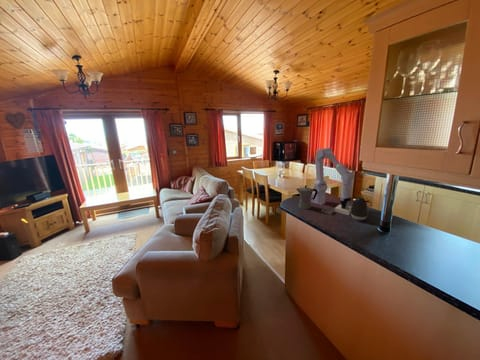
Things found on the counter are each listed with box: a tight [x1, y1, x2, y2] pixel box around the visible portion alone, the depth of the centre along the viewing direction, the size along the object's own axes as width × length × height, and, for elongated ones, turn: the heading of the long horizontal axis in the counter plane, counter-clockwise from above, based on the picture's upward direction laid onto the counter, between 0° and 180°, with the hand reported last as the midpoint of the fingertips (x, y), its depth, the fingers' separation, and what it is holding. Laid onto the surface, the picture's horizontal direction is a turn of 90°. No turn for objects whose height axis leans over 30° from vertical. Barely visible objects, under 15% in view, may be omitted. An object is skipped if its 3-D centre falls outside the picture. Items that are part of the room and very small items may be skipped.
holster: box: [320, 206, 336, 216], centre depth 146 cm, size 8×6×2 cm
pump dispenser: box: [350, 196, 370, 221], centre depth 133 cm, size 10×10×15 cm
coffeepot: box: [295, 185, 318, 210], centre depth 154 cm, size 15×9×18 cm, turn 70°
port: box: [334, 203, 352, 216], centre depth 146 cm, size 10×10×3 cm
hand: (344, 207), depth 145 cm, fingers closed on plug, 3 cm apart
